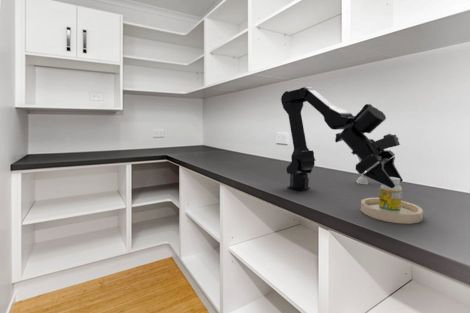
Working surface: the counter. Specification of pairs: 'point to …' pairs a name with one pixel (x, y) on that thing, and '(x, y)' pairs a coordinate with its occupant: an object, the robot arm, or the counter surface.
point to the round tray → (406, 214)
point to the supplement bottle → (391, 197)
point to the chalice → (362, 178)
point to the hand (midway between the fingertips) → (397, 184)
